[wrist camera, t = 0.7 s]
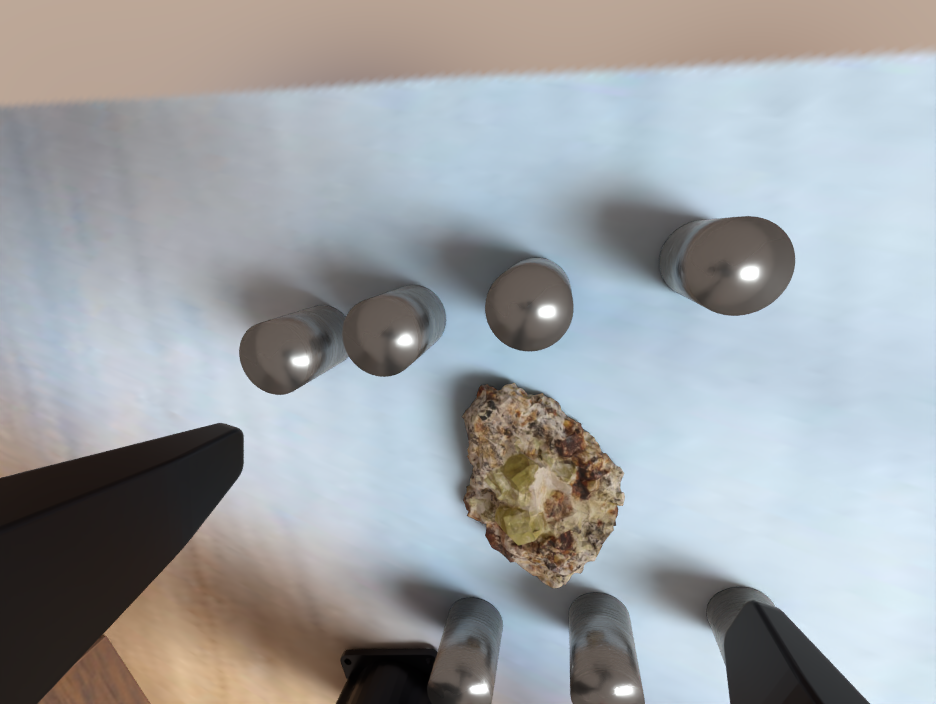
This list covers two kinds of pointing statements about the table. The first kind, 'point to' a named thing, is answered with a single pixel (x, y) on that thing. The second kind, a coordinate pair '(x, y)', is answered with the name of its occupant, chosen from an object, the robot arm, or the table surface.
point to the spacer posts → (529, 329)
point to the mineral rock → (538, 483)
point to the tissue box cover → (97, 680)
